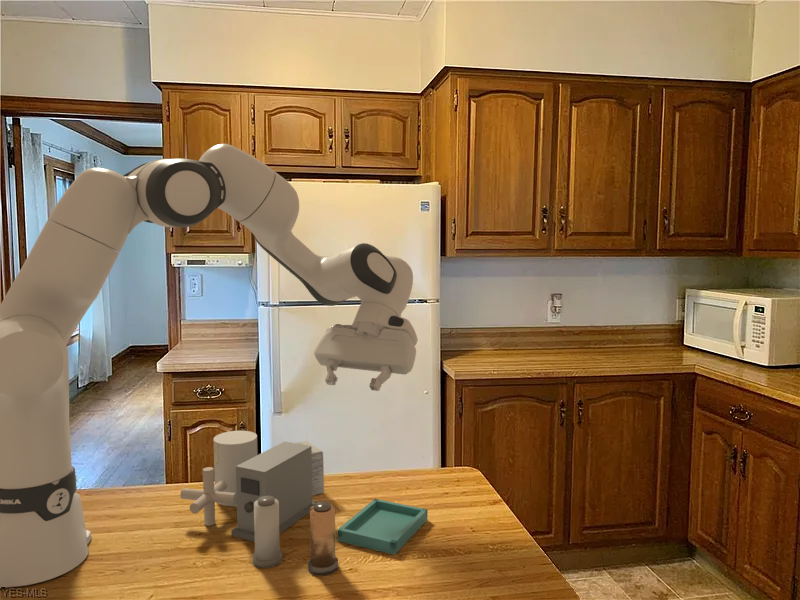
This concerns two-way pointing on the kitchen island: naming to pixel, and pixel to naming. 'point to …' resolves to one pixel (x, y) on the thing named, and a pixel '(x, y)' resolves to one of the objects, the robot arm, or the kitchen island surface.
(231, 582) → the kitchen island surface
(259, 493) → the box
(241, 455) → the light grey cylinder
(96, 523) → the kitchen island surface
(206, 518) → the pipe connector
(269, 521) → the cylinder
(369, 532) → the tray
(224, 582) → the kitchen island surface
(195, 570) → the kitchen island surface
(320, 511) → the copper cartridge
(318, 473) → the medicine box
